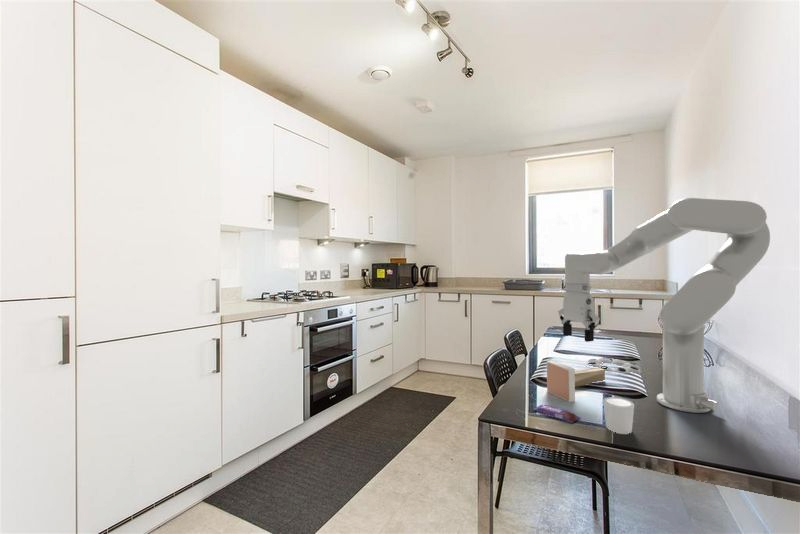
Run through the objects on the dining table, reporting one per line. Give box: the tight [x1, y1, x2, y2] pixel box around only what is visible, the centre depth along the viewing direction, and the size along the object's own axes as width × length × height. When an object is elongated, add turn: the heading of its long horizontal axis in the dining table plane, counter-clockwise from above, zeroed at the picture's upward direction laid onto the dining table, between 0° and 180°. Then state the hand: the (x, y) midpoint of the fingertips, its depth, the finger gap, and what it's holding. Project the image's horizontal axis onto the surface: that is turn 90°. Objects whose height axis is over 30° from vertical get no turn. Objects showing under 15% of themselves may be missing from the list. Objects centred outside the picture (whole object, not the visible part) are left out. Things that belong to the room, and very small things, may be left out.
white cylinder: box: [602, 396, 635, 435], centre depth 93 cm, size 7×7×7 cm
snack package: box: [532, 404, 581, 424], centre depth 102 cm, size 12×2×5 cm
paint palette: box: [586, 357, 642, 374], centre depth 143 cm, size 20×20×2 cm
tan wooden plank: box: [575, 367, 606, 388], centre depth 125 cm, size 7×19×4 cm, turn 107°
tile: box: [546, 360, 576, 403], centre depth 115 cm, size 10×2×10 cm, turn 17°
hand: (577, 338), depth 125 cm, fingers open, 9 cm apart
